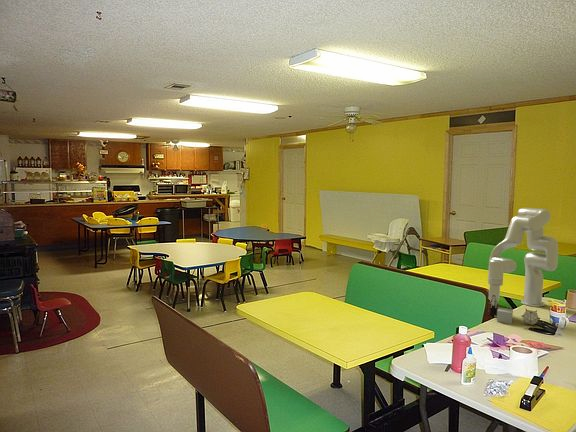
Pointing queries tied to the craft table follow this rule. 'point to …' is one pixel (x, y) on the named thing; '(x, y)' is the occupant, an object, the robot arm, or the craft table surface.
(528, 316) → the grey spiky ball
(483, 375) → the craft table surface
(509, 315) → the grey block
